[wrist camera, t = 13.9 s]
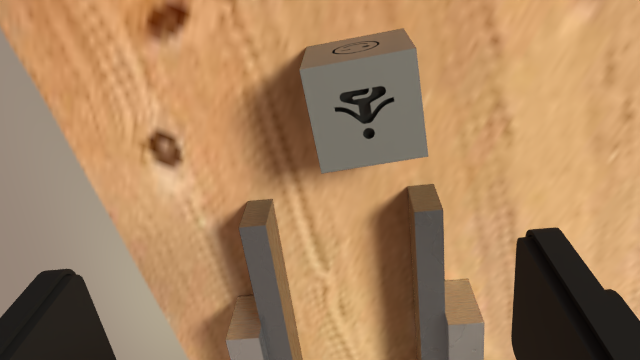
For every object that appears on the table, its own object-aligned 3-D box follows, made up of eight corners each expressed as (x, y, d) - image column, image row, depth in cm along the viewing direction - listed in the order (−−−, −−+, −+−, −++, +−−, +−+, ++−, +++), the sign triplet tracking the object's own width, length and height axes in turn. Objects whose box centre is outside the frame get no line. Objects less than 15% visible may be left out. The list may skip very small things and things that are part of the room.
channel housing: (467, 419, 38) (480, 470, 34) (270, 429, 39) (263, 479, 35) (468, 180, 29) (486, 215, 25) (215, 204, 30) (198, 240, 27)
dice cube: (403, 28, 26) (416, 47, 21) (414, 120, 28) (428, 156, 23) (306, 46, 26) (299, 69, 22) (324, 135, 28) (321, 173, 24)
